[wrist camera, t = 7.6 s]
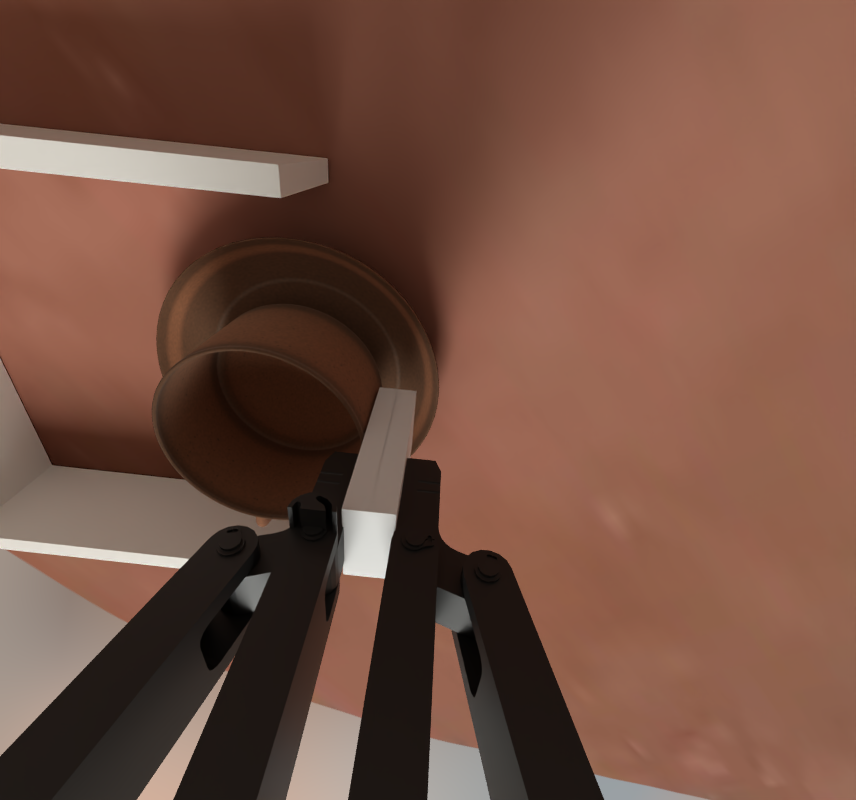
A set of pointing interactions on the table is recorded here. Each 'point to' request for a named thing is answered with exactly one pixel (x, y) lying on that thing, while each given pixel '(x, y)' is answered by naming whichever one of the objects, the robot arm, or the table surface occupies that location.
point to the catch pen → (102, 490)
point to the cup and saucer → (280, 368)
